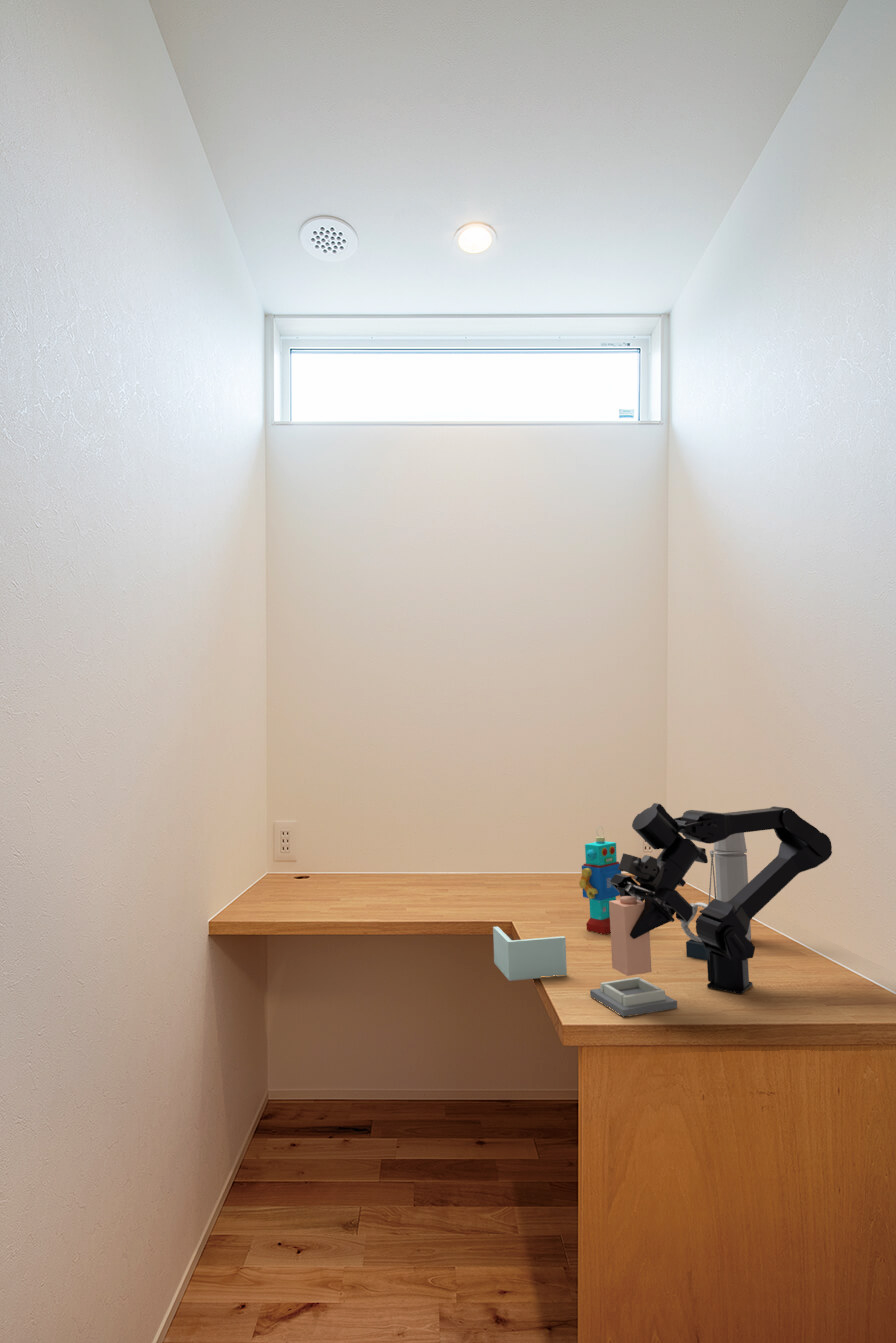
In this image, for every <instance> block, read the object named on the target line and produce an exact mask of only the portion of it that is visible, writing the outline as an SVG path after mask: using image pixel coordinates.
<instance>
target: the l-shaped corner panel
mask: <svg viewBox="0 0 896 1343" xmlns="http://www.w3.org/2000/svg"><path fill="white" fill-rule="evenodd" d="M492 935H493V963H494V965H495V966H496V967H497V968H498V969H499V971H500V972H502V973H501V974H503V975H504V976H505V978H506V979H507V980H508V981H509V982H511V981H523V980H532V979H541V978H540V977H541V976H553V975H555V976H556V975H567V974H568V972H567V944H566V943H567V941H566V936H563V935H562V936H551V937H541V938H540V937H538V938H537V937H536V938H528V939H527V938H525V939H515V940H514V939H513V940H512V939H511V937H509V936H508V934H506V933H505V932H504V931H503V930H502V929H501V928H500V927H499V926H492ZM567 976H568V975H567Z"/></svg>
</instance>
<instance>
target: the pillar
mask: <svg viewBox="0 0 896 1343" xmlns="http://www.w3.org/2000/svg"><path fill="white" fill-rule="evenodd" d="M644 907H645V901H643V902H642V901H639V900H637V898H636V897H633V896H622V897H620V896H619V899H616V900H613V901H609V909H610V930H611V933H610V947H611V949H610V952H611V966H612V969H614V970H616V971H617V972H620V973H621V974H623V975H624V976H627V977H628V976H629V977H630V976H636V975H643V974H649V973H652V952H651V935H650V933H651V931H649V932H647V933H645V934H643V935H641V936H639V937H637V938H636V939H633V938H632V937H631V936H630V933H631V931H632V929H633V927H634V925H635V923H636V922H637V920H638V918H639V917H640V915H641V913H642V912H643V910H644Z"/></svg>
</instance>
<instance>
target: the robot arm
mask: <svg viewBox="0 0 896 1343" xmlns="http://www.w3.org/2000/svg"><path fill="white" fill-rule="evenodd" d="M631 824H632V825H631V827H632V829H633V830H634V831H635V832H636V833H637V834H638V835H639V836H640V837H641V838H642V839H643V840H644V841H645V842H646V843H647V844H648V845H649V846H650V847H651V848H652V849H653V850H660V849H661V850H662V851H661V852H660V853H659V855H658V856H657V857H653V856H651V855H648V854H645V855H643V857H642V858H641V857H638V856H635V855H632V854H627V853H624V852H623V853H622V855H621V858H620V861H619V863H620V865H619V868H618V870H620V871H621V872H626V873H628V874H631V875H632V876H633V877H631V876H629V875H627V874H623V873H621V874H615V875H614V877H613V878H612V879H611V881H610V883H611V884H612V885H613V886H614V887H615V888H616V889H617V890H618V892H619V893H620V895H619V898H620V897H622V896H633V897H636V898H637V900H639V901H642V902H645V907H644V910H643V912H642V913H641V915H640V917H639V918H638V920H637V922H636V923H635V925H634V927H633V929H632V931H631V933H630V936H631V937H632V938H633V939H636V938H637V937H639V936H641V935H643V934H645V933H647V932H649V931H650V932H651V931H653V930H654V929H657V928H659V927H661V926H663V925H665V924H669V923H670V922H672V923H673V922H675V918H676V919H677V920H679V921H680V920H681V921H683V922H686V923H687V922H688V921H689V920H690V918H691V917H692V915H693V907H692V906H691V905H690V904H691V903H689V901H687V900H686V899H685V898H684V897H683V895H681V894H680V893H679V891H677V890H676V889H677V887H678V886H680V887H684V886H685V885H686V883H687V882H686V881H685V880H684V877H685V875H686V874H687V873H688V871H689V870H690V869H691V867H692V866H693V864H694V863H695V862H697V863H702V864H708V863H709V862H708V861H709V860H708V856H707V853H706V852H707V850H706V848H704V847H698V846H697V844H695V843H694V842H699V843H702V844H703V843H704V844H714V843H715V842H718V841H721V840H724V839H726V838H728V837H729V836H730V835H733V834H736V833H744V834H745V833H750V832H752V833H753V832H760V831H767V830H774V832H775V836H776V837H777V838H778V840H780V841H781V842H780V843H779V847H778V848H779V849H778V853H777V856H775V858H774V859H772V860H771V861H770V862H769V863H768V864H767V865H766V866H765V867H764V868H763V869H762V870H761V871H760V872H759V873H758V874H756V875H755V876H754V877H753V878H752V879H751V880H750V881H748V884H747V885H746V886H745V887H744V888H743V889H742V890H741V891H739V892H738V893H737V894H736V895H735V896H734V897H733V898H732V899H731V900H729V901H728V902H723V901H720V900H717V898H716V899H715V898H713V900H710V903H709V902H708V903H709V905H708V906H707V907H706V908H703V909H701V910H699V911H698V912H699V913H700V914H699V915H698V916H697V918H696V920H695V932H696V936H698V937H699V938H700V939H701V940H702V943H703V945H704V948H705V949H709V950H711V951H710V952H709V959H708V960H706V964H707V966H706V967H707V981H708V983H707V984H706V987H707V988H709V989H714V990H719V991H724V992H728V993H734V994H739V995H741V994H742V995H743V994H744V993H745V992H746V991H747V990H749V989H750V988H751V987H752V986H753V982H752V981H750V975H749V974H750V973H749V972H750V971H749V959H752V958H754V955H755V951H756V950H755V949H756V946H755V945H754V943H752V942H751V941H749V940H748V939H747V938H746V937H745V936H746V935H747V933H748V928H749V924H750V925H751V921H752V919H753V918H754V917H755V916H756V915H758V913H759V912H761V911H762V909H763V908H764V907H766V905H768V904H769V902H771V900H773V899H774V898H775V897H776V896H777V895H778V894H779V893H780V892H781V891H782V890H783V889H785V887H786V886H787V885H788V884H789V883H790V882H791V881H792V880H793V879H794V878H795V877H797V876H798V875H799V874H801V873H804V872H806V871H809V870H811V869H815V868H817V867H818V866H821V865H822V864H823V863H824V862H827V860H829V858H831V856H832V854H833V850H832V847H833V846H832V841H831V839H830V837H829V836H828V835H827V834H826V833H824V832H821V831H820V830H819V829H818V828H817V827H815V826H814V825H812V824H811V823H810V822H808V821H806V820H805V819H803V818H802V817H801V816H800V815H799V814H797V813H796V812H795V811H794V810H793V809H792V808H789V807H783V806H771V807H769V808H768V807H767V808H759V809H750V810H741V811H740V810H739V811H732V812H731V811H729V812H715V811H706V810H696V809H689V810H686V811H684V812H683V813H682V815H681V816H679V817H674V818H673V817H672V816H671V815H670V813H669V812H667V810H666V808H665V806H663V805H662V804H661V803H658V802H656V803H655V802H653V804H651V806H650V807H648V808H646V809H643V811H641V812H640V813H637V814H636V816H635V817H634V819H633V821H632V823H631ZM682 835H683V836H682ZM684 837H685V838H684ZM693 841H694V842H693ZM674 915H675V918H674Z"/></svg>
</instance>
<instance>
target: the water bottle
mask: <svg viewBox="0 0 896 1343" xmlns="http://www.w3.org/2000/svg"><path fill="white" fill-rule="evenodd" d="M747 852H748V848H747V844H746V839H745V832H744V833H736V834H733V835H730V836H729V837H728V838H726V839H724V840H721V841H718V842H715V843H713V850H709V854H710V875H709V876H710V877H709V888H708V889H709V892H708V902H707V904H708V905H709V903H710V902H711V895H712V893H711V891H712V881H713V892H714V899H717V900H720V901H723V902H728V901H729V900H731V899H732V898H733V897H734V896H735V895H736V894H737V893H738V892H739V891H741V890H742V889H743V888H744V887H745V886H746V885H747V884H748V883H749V876H748V859H747V854H746V853H747ZM714 868H715V869H714ZM712 876H713V880H712ZM745 937H746V938H747V939H748V940H749V941H750V942H751V941H752V928H751V923H750V924H749V928H748V933H747V935H746V936H745Z"/></svg>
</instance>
